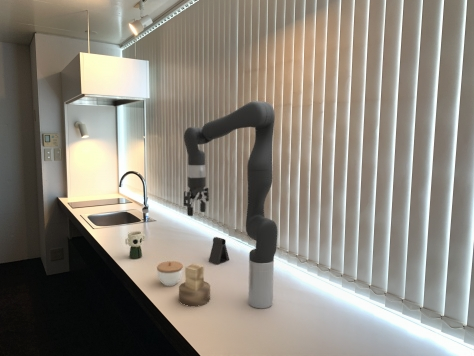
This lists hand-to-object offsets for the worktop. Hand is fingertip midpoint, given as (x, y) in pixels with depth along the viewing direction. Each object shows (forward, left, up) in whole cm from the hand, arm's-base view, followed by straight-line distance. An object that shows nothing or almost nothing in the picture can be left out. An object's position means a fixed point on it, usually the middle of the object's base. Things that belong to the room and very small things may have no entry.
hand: (196, 213), depth 148 cm
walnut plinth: (+13, +9, -30) cm, 34 cm away
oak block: (+13, +9, -25) cm, 30 cm away
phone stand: (-26, -6, -30) cm, 40 cm away
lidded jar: (+7, -9, -30) cm, 32 cm away
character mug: (-7, -45, -30) cm, 55 cm away
